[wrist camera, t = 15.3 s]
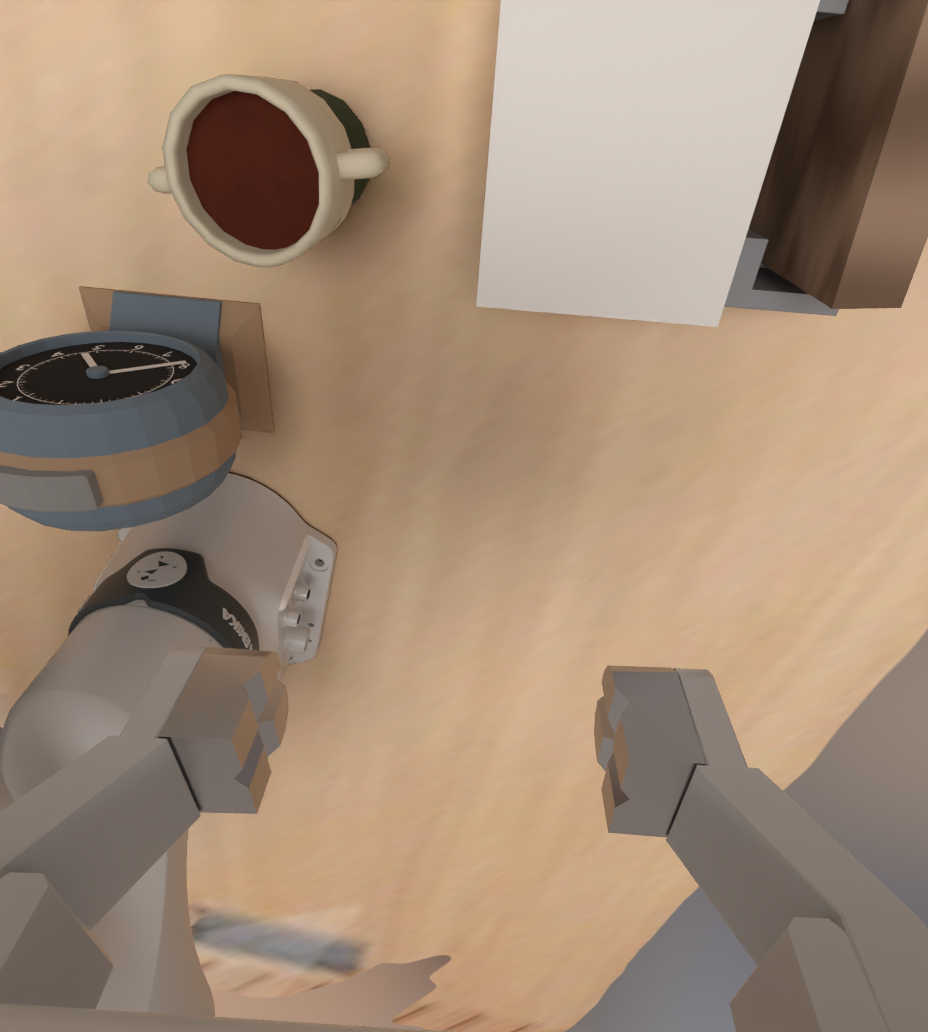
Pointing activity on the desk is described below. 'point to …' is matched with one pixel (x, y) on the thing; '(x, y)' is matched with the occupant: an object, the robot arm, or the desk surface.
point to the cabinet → (638, 156)
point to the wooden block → (853, 159)
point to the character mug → (264, 165)
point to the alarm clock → (130, 409)
